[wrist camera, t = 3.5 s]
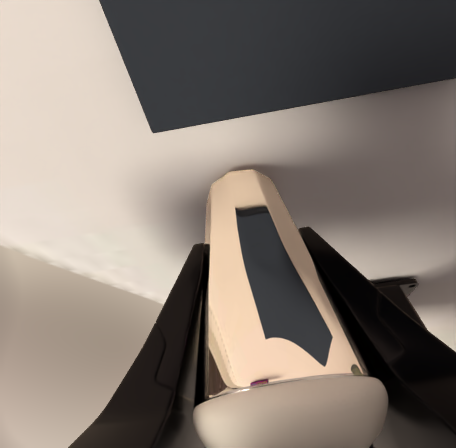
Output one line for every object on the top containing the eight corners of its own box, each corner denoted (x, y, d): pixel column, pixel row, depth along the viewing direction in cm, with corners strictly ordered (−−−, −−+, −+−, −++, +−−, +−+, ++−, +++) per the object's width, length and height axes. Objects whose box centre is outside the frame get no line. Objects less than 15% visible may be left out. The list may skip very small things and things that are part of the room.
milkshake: (260, 243, 14) (326, 501, 7) (176, 211, 12) (152, 559, 5) (320, 189, 11) (512, 512, 5) (227, 134, 9) (339, 653, 2)
